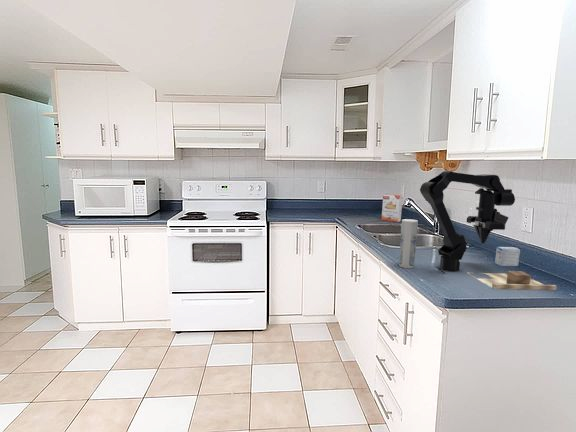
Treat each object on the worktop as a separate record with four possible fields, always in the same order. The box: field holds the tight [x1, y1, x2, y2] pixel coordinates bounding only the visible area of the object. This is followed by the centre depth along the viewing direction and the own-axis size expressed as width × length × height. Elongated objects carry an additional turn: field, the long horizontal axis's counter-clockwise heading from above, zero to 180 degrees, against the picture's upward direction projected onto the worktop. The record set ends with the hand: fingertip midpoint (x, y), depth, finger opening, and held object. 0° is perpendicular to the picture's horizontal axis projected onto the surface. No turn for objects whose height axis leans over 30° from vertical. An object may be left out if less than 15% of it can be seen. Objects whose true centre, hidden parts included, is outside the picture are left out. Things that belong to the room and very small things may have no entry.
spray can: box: [398, 218, 419, 269], centre depth 156 cm, size 6×6×20 cm
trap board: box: [467, 272, 558, 291], centre depth 136 cm, size 22×19×3 cm
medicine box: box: [494, 246, 521, 267], centre depth 160 cm, size 8×4×9 cm, turn 92°
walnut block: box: [506, 270, 531, 284], centre depth 131 cm, size 5×5×4 cm
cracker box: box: [381, 193, 404, 223], centre depth 290 cm, size 14×6×21 cm, turn 50°
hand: (482, 243), depth 151 cm, fingers closed
